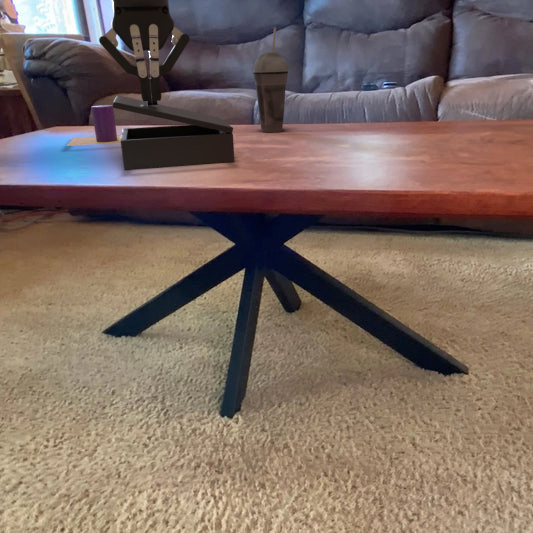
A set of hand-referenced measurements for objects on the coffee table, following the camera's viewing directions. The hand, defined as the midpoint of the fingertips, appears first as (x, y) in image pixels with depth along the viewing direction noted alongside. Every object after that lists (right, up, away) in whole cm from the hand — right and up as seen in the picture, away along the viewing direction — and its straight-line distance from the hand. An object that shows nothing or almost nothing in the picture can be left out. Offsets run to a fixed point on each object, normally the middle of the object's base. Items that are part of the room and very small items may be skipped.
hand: (152, 104), depth 75 cm
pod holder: (+3, -8, +4) cm, 9 cm away
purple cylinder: (-14, +1, +25) cm, 29 cm away
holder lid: (+3, -1, +1) cm, 3 cm away
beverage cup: (+18, +5, +34) cm, 38 cm away
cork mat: (-15, 0, +25) cm, 29 cm away
